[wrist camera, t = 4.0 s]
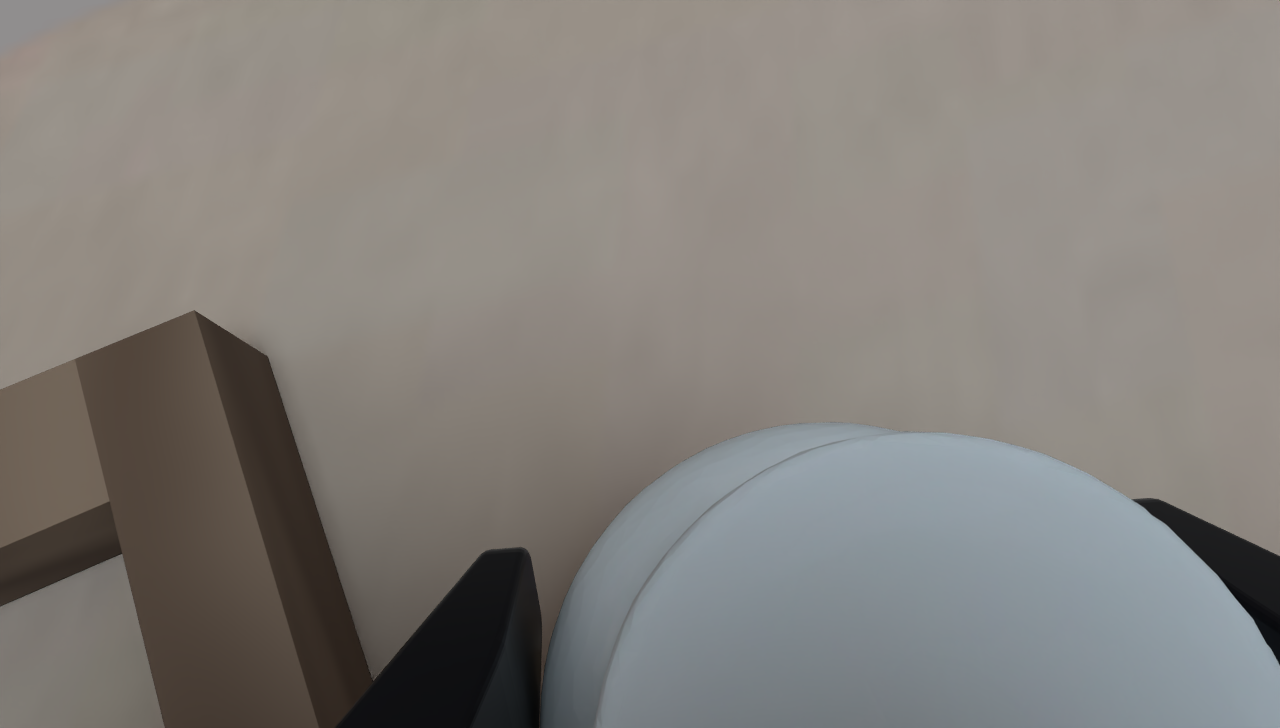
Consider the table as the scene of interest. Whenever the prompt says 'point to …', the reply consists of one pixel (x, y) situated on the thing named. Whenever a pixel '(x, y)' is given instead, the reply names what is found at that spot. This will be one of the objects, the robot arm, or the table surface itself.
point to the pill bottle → (897, 597)
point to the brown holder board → (184, 523)
